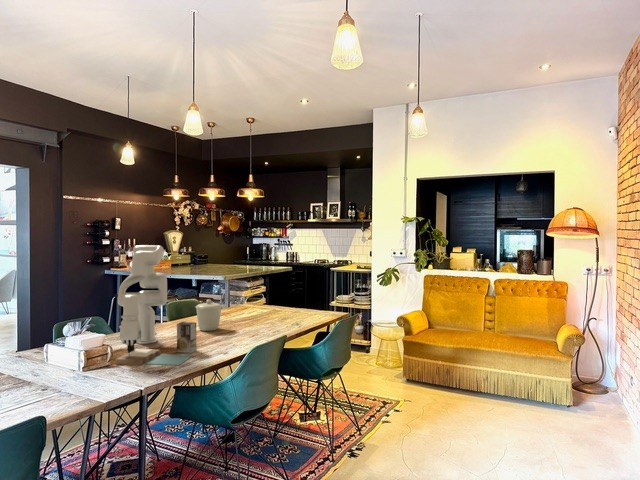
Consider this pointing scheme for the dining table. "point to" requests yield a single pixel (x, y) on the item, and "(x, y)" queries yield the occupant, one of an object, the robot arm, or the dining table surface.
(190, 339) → the coffee box
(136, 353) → the tile
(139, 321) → the robot arm
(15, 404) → the dining table surface
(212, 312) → the canister
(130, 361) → the walnut deck
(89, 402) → the dining table surface
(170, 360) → the teal mat
